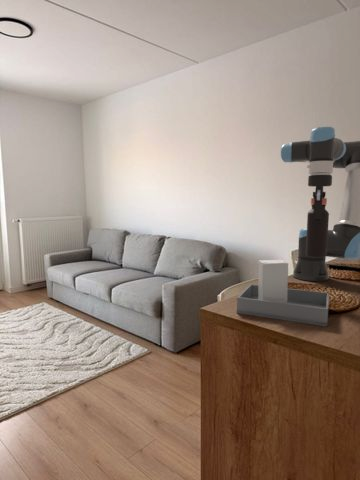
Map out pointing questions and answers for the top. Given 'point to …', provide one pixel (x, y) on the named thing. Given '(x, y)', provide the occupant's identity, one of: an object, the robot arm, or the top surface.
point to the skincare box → (273, 280)
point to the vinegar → (317, 232)
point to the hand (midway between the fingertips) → (316, 242)
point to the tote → (287, 306)
